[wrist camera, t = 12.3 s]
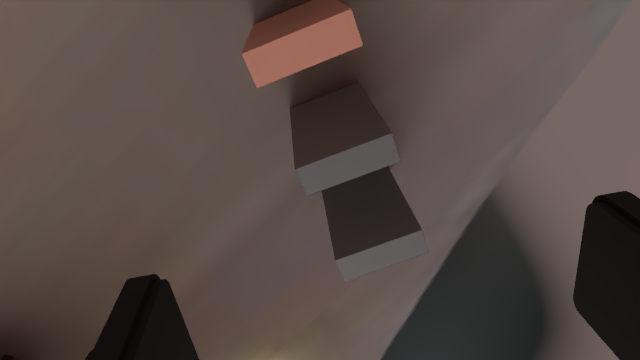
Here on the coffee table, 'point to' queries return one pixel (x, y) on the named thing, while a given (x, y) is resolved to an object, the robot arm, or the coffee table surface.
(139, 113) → the coffee table surface
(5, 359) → the mate gourd
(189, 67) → the coffee table surface
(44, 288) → the coffee table surface
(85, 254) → the coffee table surface
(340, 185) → the domino
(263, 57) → the domino
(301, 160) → the domino
